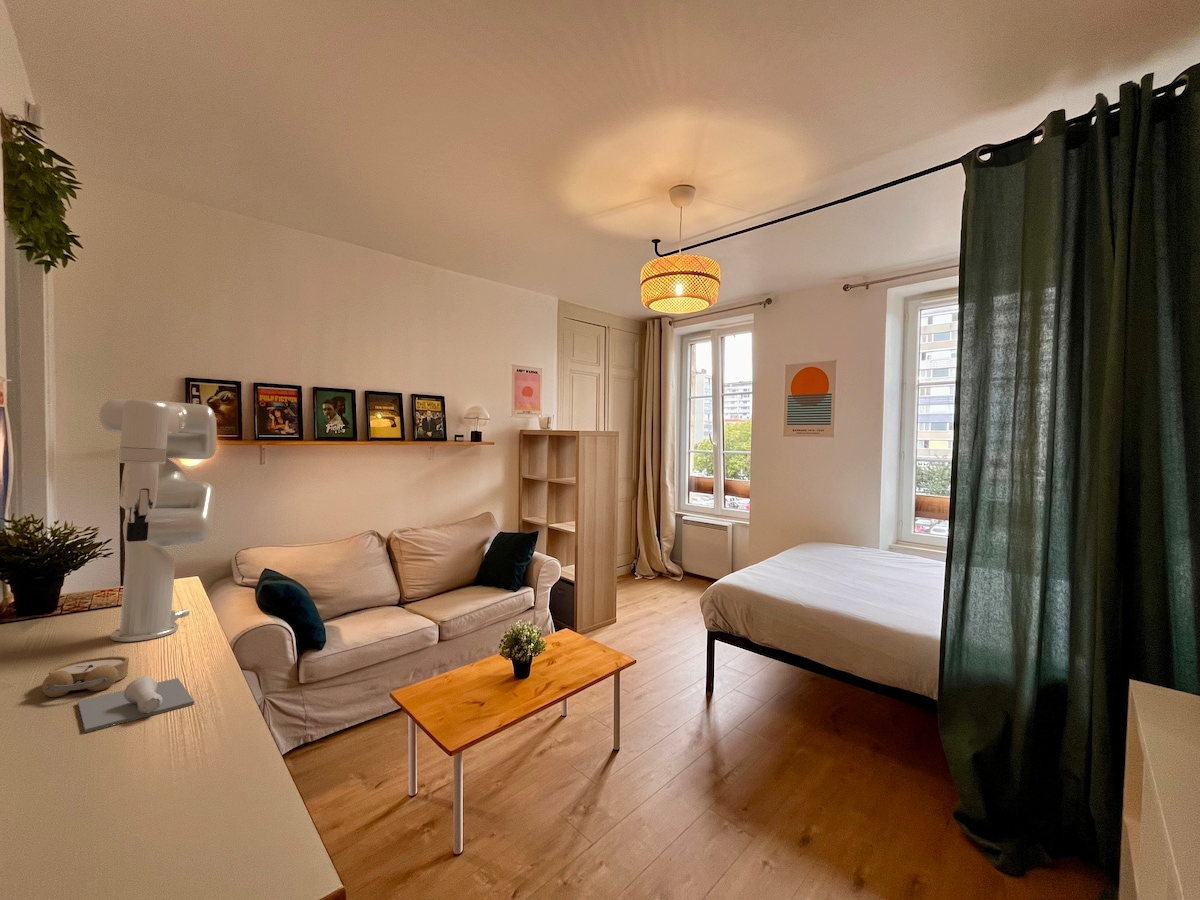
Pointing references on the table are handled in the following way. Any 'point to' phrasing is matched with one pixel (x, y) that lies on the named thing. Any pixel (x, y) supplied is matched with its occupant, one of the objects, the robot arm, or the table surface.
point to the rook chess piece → (143, 694)
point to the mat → (130, 706)
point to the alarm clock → (85, 675)
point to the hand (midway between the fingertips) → (136, 540)
